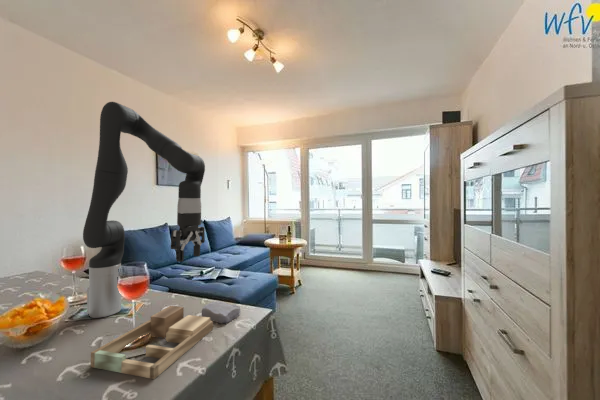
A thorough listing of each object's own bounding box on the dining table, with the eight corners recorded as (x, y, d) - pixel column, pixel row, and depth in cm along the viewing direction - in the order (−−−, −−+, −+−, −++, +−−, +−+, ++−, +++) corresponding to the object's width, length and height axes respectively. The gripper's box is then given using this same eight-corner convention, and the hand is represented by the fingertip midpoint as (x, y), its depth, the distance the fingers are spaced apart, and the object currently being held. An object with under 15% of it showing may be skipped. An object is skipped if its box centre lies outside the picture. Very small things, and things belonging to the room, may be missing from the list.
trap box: (90, 367, 61) (90, 352, 61) (163, 322, 83) (163, 312, 83) (154, 379, 56) (154, 363, 57) (212, 329, 79) (212, 317, 79)
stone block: (219, 312, 95) (197, 317, 87) (221, 299, 96) (200, 303, 87) (243, 320, 90) (223, 327, 81) (245, 306, 90) (225, 311, 82)
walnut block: (150, 336, 75) (150, 316, 75) (170, 324, 83) (170, 305, 83) (164, 338, 74) (164, 318, 74) (183, 325, 81) (183, 307, 81)
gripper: (193, 210, 94) (192, 254, 94) (164, 212, 80) (163, 262, 80) (211, 211, 92) (210, 255, 92) (184, 212, 79) (183, 264, 79)
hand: (188, 258), depth 86 cm, fingers open, 8 cm apart
